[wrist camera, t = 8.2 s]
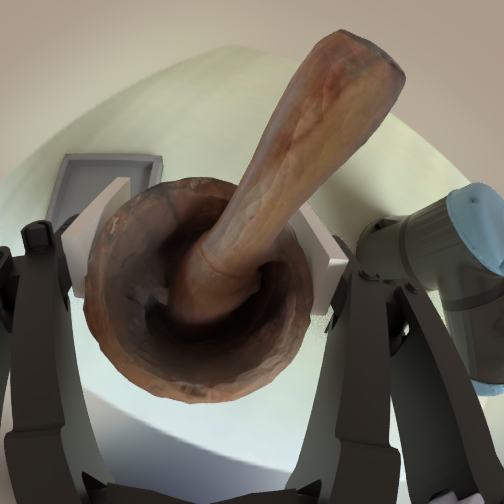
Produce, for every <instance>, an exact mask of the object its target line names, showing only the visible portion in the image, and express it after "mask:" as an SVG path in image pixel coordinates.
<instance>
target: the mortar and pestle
mask: <svg viewBox="0 0 504 504" xmlns="http://www.w3.org/2000/svg"><path fill="white" fill-rule="evenodd" d="M405 81H406V77H405V73H404V71H403V70H402V69H401V68H400V66H399V65H398V64H397V63H396V62H395V61H394V60H393V59H392V57H390V56H389V55H388V54H387V53H386V52H385V51H384V50H382V49H381V48H379V47H378V46H377V45H375V44H374V43H372V42H371V41H369V40H366V39H364V38H361V37H358V36H356V35H354V34H352V33H350V32H348V31H346V30H342V29H340V30H338V31H336V32H334V33H332V34H330V35H328V36H326V37H324V38H323V39H322V40H320V41H319V42H318V43H317V44H316V45H315V46H314V48H313V49H312V50H311V52H310V53H309V54H308V56H307V57H306V59H305V60H304V61H303V63H302V64H301V65H300V67H299V68H298V70H297V71H296V73H295V74H294V76H293V77H292V79H291V81H290V82H289V84H288V86H287V88H286V90H285V92H284V94H283V96H282V97H281V99H280V101H279V103H278V105H277V107H276V108H275V110H274V112H273V114H272V116H271V118H270V120H269V122H268V124H267V127H266V129H265V131H264V133H263V135H262V137H261V140H260V142H259V144H258V146H257V149H256V151H255V153H254V156H253V158H252V160H251V162H250V164H249V166H248V168H247V170H246V172H245V173H244V175H243V177H242V179H241V181H240V183H239V185H238V186H237V185H235V184H232V183H230V182H226V181H222V180H219V179H215V178H211V177H190V178H184V179H181V180H177V181H171V182H161V183H159V184H156V185H154V186H152V187H150V188H148V189H146V190H144V191H143V192H141V193H139V194H137V195H136V196H134V197H132V198H131V199H129V200H128V201H127V202H125V203H124V204H123V205H122V206H120V207H119V208H118V209H117V210H116V211H115V212H114V214H113V215H112V216H111V217H110V218H109V219H108V221H107V222H106V224H105V226H104V227H103V229H102V230H101V231H100V233H99V235H98V237H97V239H96V242H95V244H94V246H93V249H92V252H91V255H90V259H89V262H88V265H87V274H86V276H85V297H84V305H83V311H84V315H85V318H86V322H87V325H88V328H89V330H90V332H91V334H92V335H93V337H94V338H95V339H96V341H97V342H98V343H99V346H100V350H101V351H102V352H103V353H104V355H105V356H106V357H107V358H108V359H109V361H110V362H111V363H112V364H113V365H114V367H115V368H116V369H117V370H118V371H119V372H120V373H121V374H122V375H123V376H124V377H126V378H127V379H128V380H129V381H130V382H132V383H133V384H135V385H136V386H138V387H140V388H142V389H144V390H146V391H147V392H149V393H151V394H152V395H154V396H157V397H161V398H165V397H166V398H169V399H173V400H178V401H182V402H185V403H187V404H196V403H219V402H227V401H234V400H236V399H239V398H241V397H243V396H246V395H248V394H250V393H252V392H254V391H256V390H258V389H260V388H262V387H264V386H265V385H267V384H269V383H271V382H272V381H273V380H274V378H275V377H276V376H277V375H278V374H279V373H280V372H282V371H283V370H284V369H285V368H286V367H287V366H288V365H289V364H290V363H291V362H292V361H293V359H294V358H295V356H296V354H297V353H298V351H299V349H300V347H301V345H302V342H303V339H304V336H305V333H306V331H307V329H308V327H309V325H310V322H311V320H310V313H311V309H312V306H313V292H312V285H311V276H310V269H309V265H308V262H307V259H306V256H305V254H304V251H303V249H302V247H301V246H300V244H299V242H298V240H297V237H296V234H295V231H294V230H293V228H292V227H291V226H290V224H289V223H288V220H289V219H290V217H291V216H292V215H293V214H294V213H295V212H296V211H297V210H298V209H299V208H300V207H301V206H302V205H303V204H304V203H305V202H306V201H307V200H308V199H309V198H310V196H311V195H312V194H313V193H314V192H315V191H316V190H317V189H318V188H319V187H320V186H321V185H322V184H323V183H324V182H325V181H326V180H327V178H328V177H330V176H331V175H332V174H333V173H334V172H335V171H337V170H338V169H339V168H340V167H341V166H342V165H343V164H344V163H345V162H346V161H347V160H348V159H349V158H350V157H351V156H352V155H353V154H354V153H355V152H356V151H357V150H358V149H359V148H360V147H361V146H363V145H364V144H365V143H366V142H367V140H368V139H369V138H370V137H371V136H372V134H373V133H374V132H375V131H376V130H377V129H378V127H379V126H380V125H381V123H382V122H383V120H384V119H385V117H386V116H387V115H388V113H389V112H390V110H391V108H392V107H393V105H394V104H395V102H396V101H397V98H398V96H399V94H400V93H401V91H402V89H403V86H404V85H405Z"/></svg>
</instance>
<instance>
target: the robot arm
mask: <svg viewBox="0 0 504 504" xmlns="http://www.w3.org/2000/svg"><path fill="white" fill-rule="evenodd" d="M129 199H130V178H128V177H117V178H116V179H115V180H114V181H113V182H112V183H111V184H110V185H109V186H108V187H107V188H106V189H104V190H103V191H102V192H101V193H100V194H99V195H98V196H97V197H96V198H95V199H94V200H93V201H92V202H91V203H90V205H89V206H88V207H87V208H86V209H85V210H84V211H83V212H82V213H81V214H75V215H73V216H71V217H70V218H68V219H67V220H66V221H65V222H64V223H63V225H61V227H60V228H59V230H57V231H56V232H55V233H53V227H52V223H51V222H50V221H46V220H40V221H35V222H32V223H30V224H28V225H26V226H25V227H24V228H23V229H22V230H21V235H22V239H23V244H24V248H25V255H24V256H16V257H12V255H11V252H10V248H8V247H7V246H0V426H1V417H2V409H3V402H4V396H5V390H6V385H7V380H8V376H9V371H10V384H11V405H12V417H13V430H12V431H10V432H8V433H6V435H5V438H4V450H5V456H6V462H7V466H8V471H9V476H10V480H11V484H12V488H13V492H14V495H15V499H16V502H17V504H195V503H191V502H188V501H184V500H180V499H177V498H173V497H170V496H167V495H164V494H161V493H158V492H155V491H152V490H146V489H139V488H133V487H128V486H122V485H118V484H115V482H114V479H113V477H112V475H111V473H110V471H109V470H108V468H107V467H106V465H105V463H104V461H103V459H102V457H101V455H100V452H99V449H98V446H97V443H96V440H95V437H94V434H93V430H92V427H91V423H90V419H89V416H88V412H87V408H86V404H85V400H84V396H83V391H82V386H81V382H80V377H79V371H78V366H77V360H76V353H75V346H74V339H73V330H72V320H71V308H70V300H69V296H68V291H69V290H70V288H71V286H72V289H73V292H74V296H75V297H77V298H84V297H85V276H86V274H87V265H88V262H89V259H90V255H91V252H92V249H93V246H94V244H95V242H96V239H97V237H98V235H99V233H100V231H101V230H102V229H103V227H104V226H105V224H106V222H107V221H108V219H109V218H110V217H111V216H112V215H113V214H114V212H115V211H116V210H117V209H118V208H119V207H120V206H122V205H123V204H124V203H125V202H127V201H128V200H129ZM288 223H289V224H290V226H291V227H292V228H293V230H294V231H295V234H296V237H297V240H298V242H299V244H300V246H301V247H302V249H303V251H304V254H305V256H306V259H307V262H308V265H309V269H310V276H311V285H312V292H313V306H312V309H311V313H310V315H326V313H327V311H328V309H329V307H330V304H331V306H332V308H333V311H334V313H333V315H332V317H331V319H330V321H329V323H328V325H327V328H326V330H325V332H324V333H327V332H328V336H327V341H326V347H325V352H324V357H323V362H322V367H321V372H320V377H319V381H318V386H317V390H316V395H315V399H314V403H313V407H312V411H311V415H310V419H309V423H308V427H307V431H306V434H305V438H304V442H303V445H302V449H301V452H300V455H299V459H298V462H297V465H296V467H295V469H294V471H293V473H292V474H291V476H290V478H289V480H288V482H287V484H286V486H285V489H284V490H279V491H270V492H262V493H261V492H260V493H251V494H247V495H243V496H240V497H236V498H232V499H228V500H225V501H220V502H216V503H211V504H396V501H397V494H398V486H399V478H400V468H401V456H400V453H399V451H398V449H396V448H394V447H391V446H390V444H389V428H390V394H391V398H392V403H393V407H394V411H395V416H396V421H397V426H398V431H399V436H400V441H401V447H402V453H403V459H404V465H405V472H406V480H407V486H408V492H409V497H410V500H411V504H504V468H503V466H502V464H501V463H500V461H499V459H498V457H497V455H496V452H495V449H494V445H493V442H492V438H491V435H490V431H489V428H488V425H487V422H486V419H485V416H484V413H483V410H482V407H481V405H480V402H479V399H478V397H477V396H495V395H499V394H502V393H504V200H503V199H502V197H501V196H500V195H499V194H498V193H497V192H496V191H495V190H494V189H492V188H491V187H490V186H488V185H485V184H483V183H472V184H469V185H467V186H465V187H463V188H461V189H456V190H453V191H451V192H450V193H449V194H448V195H447V196H446V197H444V198H442V199H440V200H439V201H437V202H435V203H433V204H431V205H429V206H427V207H425V208H423V209H421V210H419V211H417V212H415V213H414V214H412V215H408V216H387V217H383V218H380V219H378V220H377V221H375V222H373V223H371V224H370V225H369V226H368V227H367V228H366V229H365V230H364V231H363V233H362V235H361V237H360V239H359V242H358V246H357V254H356V258H355V256H354V255H353V254H352V252H351V251H350V249H348V247H347V245H346V244H345V243H344V241H342V240H341V239H340V238H338V237H337V236H334V235H331V234H330V232H329V231H328V230H327V228H326V227H325V226H324V224H323V223H322V221H321V220H320V219H319V217H318V216H317V215H316V213H315V212H314V211H313V209H312V208H311V207H310V205H309V204H308V203H307V201H306V202H305V203H304V204H303V205H302V206H301V207H300V208H299V209H298V210H297V211H296V212H295V213H294V214H293V215H292V216H291V217H290V219H289V220H288ZM434 290H438V291H439V295H440V298H441V302H442V307H443V312H444V316H445V321H446V326H447V329H446V327H445V325H444V323H443V321H442V319H441V317H440V316H439V314H438V312H437V310H436V308H435V307H434V305H433V303H432V301H431V300H430V298H429V296H428V294H427V293H429V292H430V291H434ZM407 325H409V332H408V334H407V335H405V333H404V330H405V328H406V326H407Z"/></svg>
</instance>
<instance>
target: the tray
mask: <svg viewBox="0 0 504 504" xmlns="http://www.w3.org/2000/svg"><path fill="white" fill-rule="evenodd" d="M163 167H164V165H163V159H162V156H154V155H132V154H65V157H64V160H63V163H62V166H61V169H60V172H59V175H58V178H57V181H56V184H55V187H54V191H53V194H52V198H51V201H50V205H49V209H48V213H47V217H46V221H50V222H51V223H52V227H53V233H55V232H56V231H57V230H59V228H60V227H61V225H63V223H64V222H65V221H66V220H67V219H68V218H70V217H71V216H73V215H75V214H81V213H82V212H83V211H84V210H85V209H86V208H87V207H88V206H89V205H90V203H91V202H92V201H93V200H94V199H95V198H96V197H97V196H98V195H99V194H100V193H101V192H102V191H103V190H104V189H106V188H107V187H108V186H109V185H110V184H111V183H112V182H113V181H114V180H115V179H116V178H117V177H128V178H130V199H131V198H132V197H134V196H136V195H137V194H139V193H141V192H143V191H144V190H146V189H148V188H150V187H152V186H154V185H156V184H159V183H160V182H161V177H162V172H163Z"/></svg>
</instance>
